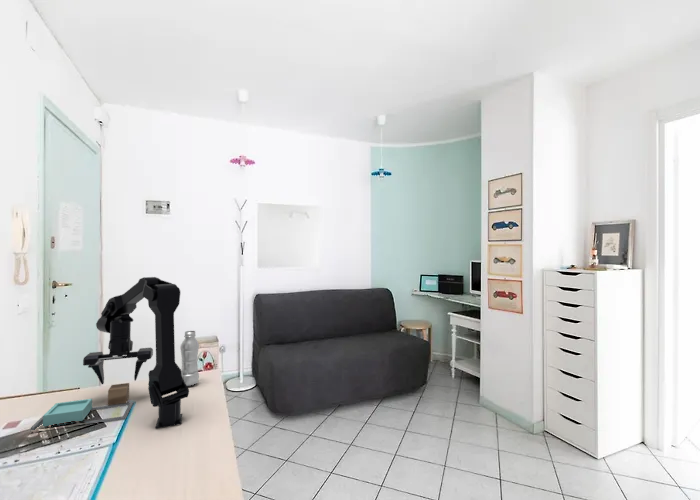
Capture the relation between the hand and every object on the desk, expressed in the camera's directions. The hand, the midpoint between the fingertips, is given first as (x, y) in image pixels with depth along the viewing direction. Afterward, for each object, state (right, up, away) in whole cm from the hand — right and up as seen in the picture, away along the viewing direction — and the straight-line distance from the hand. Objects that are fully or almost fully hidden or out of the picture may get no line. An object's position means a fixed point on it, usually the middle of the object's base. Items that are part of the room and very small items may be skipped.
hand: (119, 382), depth 114 cm
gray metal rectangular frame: (-2, -6, -12) cm, 13 cm away
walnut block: (0, -6, 0) cm, 6 cm away
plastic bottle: (+17, -7, +14) cm, 23 cm away
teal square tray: (-6, -6, -13) cm, 16 cm away
